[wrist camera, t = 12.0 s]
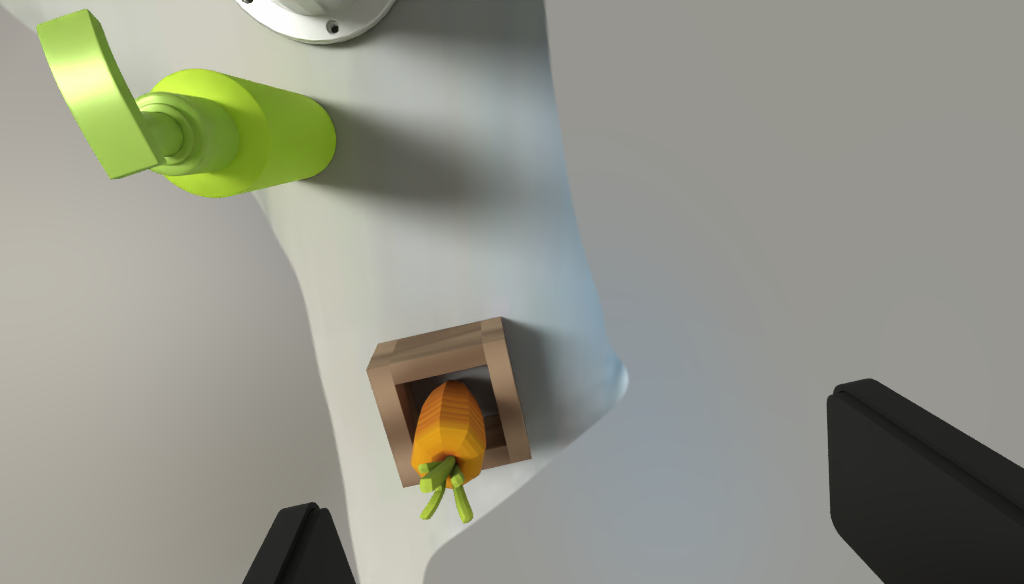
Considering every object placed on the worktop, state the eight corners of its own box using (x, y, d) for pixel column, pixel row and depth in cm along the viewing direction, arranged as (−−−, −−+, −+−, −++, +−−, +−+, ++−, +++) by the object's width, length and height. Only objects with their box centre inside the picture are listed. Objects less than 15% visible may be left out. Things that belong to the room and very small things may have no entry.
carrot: (489, 404, 45) (497, 530, 30) (431, 416, 45) (412, 549, 30) (476, 350, 43) (479, 455, 29) (416, 363, 43) (388, 475, 29)
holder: (378, 343, 42) (366, 369, 38) (500, 316, 43) (504, 338, 38) (410, 450, 45) (403, 487, 41) (525, 424, 45) (531, 458, 41)
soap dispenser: (310, 66, 37) (133, -16, 17) (349, 164, 39) (228, 188, 19) (229, 92, 37) (-34, 41, 18) (272, 189, 39) (77, 238, 19)
